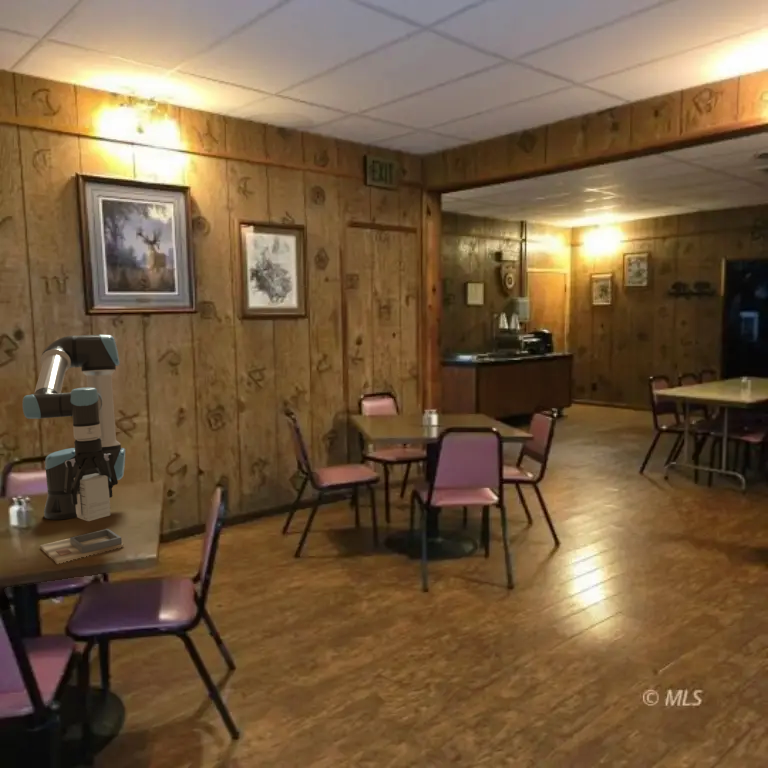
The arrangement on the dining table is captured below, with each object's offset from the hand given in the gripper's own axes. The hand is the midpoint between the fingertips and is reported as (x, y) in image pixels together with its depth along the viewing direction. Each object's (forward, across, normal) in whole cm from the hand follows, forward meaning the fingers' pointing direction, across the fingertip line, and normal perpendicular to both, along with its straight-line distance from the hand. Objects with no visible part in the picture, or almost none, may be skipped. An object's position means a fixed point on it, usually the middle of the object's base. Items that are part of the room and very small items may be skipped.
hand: (93, 511), depth 200 cm
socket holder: (+12, 0, 0) cm, 12 cm away
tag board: (+12, -3, +3) cm, 12 cm away
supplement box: (+2, 0, 0) cm, 2 cm away
